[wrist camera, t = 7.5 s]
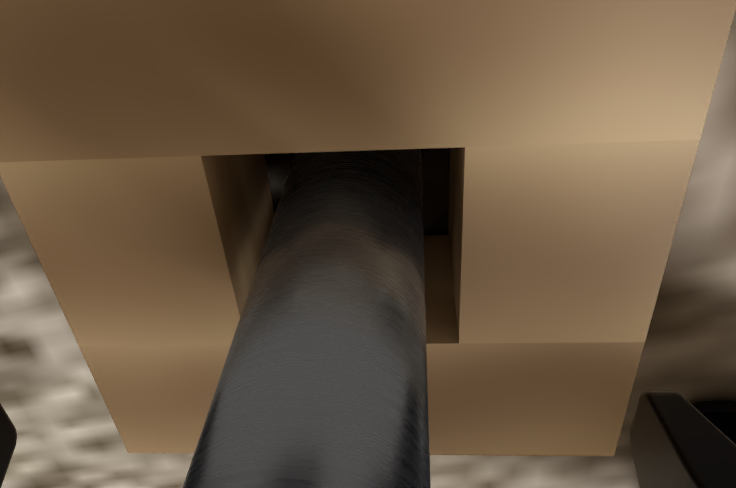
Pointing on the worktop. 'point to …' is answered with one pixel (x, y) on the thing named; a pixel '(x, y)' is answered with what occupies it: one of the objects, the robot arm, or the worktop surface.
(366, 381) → the pin
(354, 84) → the socket block
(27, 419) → the worktop surface
